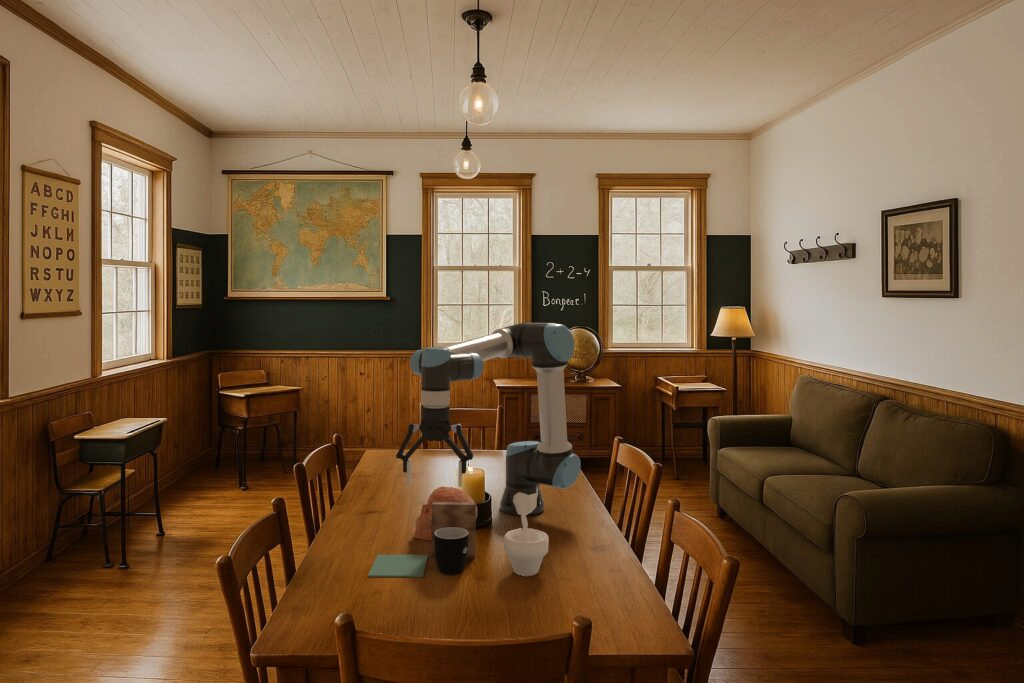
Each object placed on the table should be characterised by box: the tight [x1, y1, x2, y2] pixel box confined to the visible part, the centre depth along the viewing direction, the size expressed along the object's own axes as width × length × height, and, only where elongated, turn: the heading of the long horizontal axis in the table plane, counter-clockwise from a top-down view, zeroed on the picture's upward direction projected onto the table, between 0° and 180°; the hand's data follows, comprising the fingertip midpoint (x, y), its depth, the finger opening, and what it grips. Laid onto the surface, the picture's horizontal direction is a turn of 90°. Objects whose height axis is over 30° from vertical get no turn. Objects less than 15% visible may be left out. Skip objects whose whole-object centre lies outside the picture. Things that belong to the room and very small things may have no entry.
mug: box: [434, 527, 468, 576], centre depth 177 cm, size 12×9×10 cm
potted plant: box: [503, 487, 550, 577], centre depth 175 cm, size 13×12×25 cm
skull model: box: [413, 486, 478, 542], centre depth 201 cm, size 15×19×15 cm
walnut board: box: [430, 502, 477, 559], centre depth 187 cm, size 12×5×15 cm, turn 92°
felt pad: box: [367, 554, 429, 578], centre depth 178 cm, size 14×14×1 cm
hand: (434, 485), depth 177 cm, fingers open, 13 cm apart
